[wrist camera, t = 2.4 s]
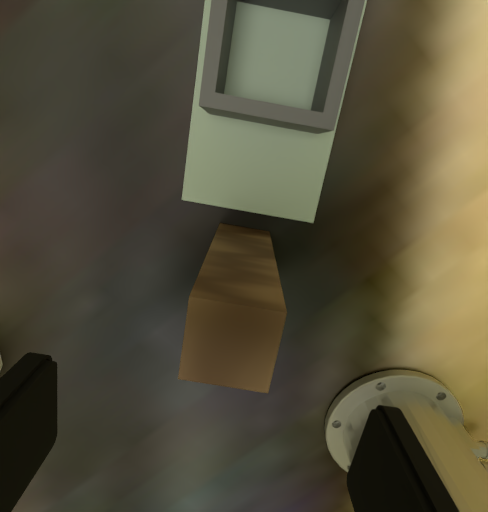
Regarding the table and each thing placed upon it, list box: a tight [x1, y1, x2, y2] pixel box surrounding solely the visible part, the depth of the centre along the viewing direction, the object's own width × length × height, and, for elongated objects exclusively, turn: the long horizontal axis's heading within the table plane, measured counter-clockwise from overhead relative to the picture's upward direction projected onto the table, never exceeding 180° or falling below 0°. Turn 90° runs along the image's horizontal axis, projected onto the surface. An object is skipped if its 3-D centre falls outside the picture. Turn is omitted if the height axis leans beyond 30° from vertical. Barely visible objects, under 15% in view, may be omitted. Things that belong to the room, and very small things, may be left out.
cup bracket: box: [182, 0, 367, 223], centre depth 21 cm, size 10×17×6 cm, turn 170°
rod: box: [178, 223, 287, 393], centre depth 21 cm, size 4×4×14 cm
